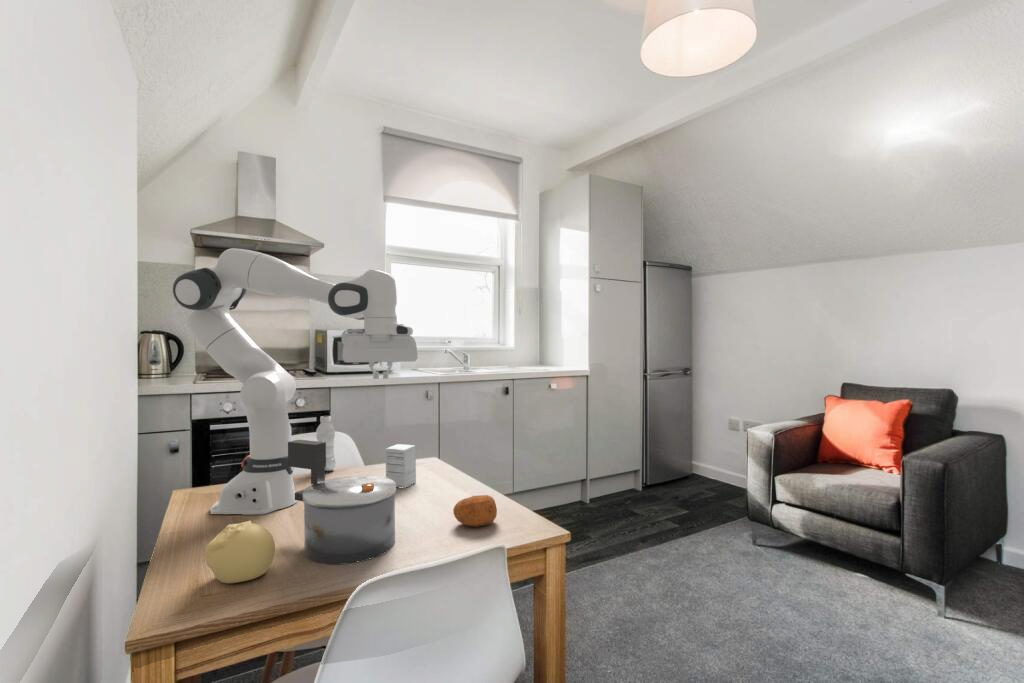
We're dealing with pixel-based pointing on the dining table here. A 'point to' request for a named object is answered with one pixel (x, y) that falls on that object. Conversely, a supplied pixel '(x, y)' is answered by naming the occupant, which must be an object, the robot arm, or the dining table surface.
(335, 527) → the cooker pot
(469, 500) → the potato
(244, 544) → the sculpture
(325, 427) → the plastic bottle
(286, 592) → the dining table surface
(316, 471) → the cooker lid
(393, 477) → the supplement box
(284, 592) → the dining table surface
